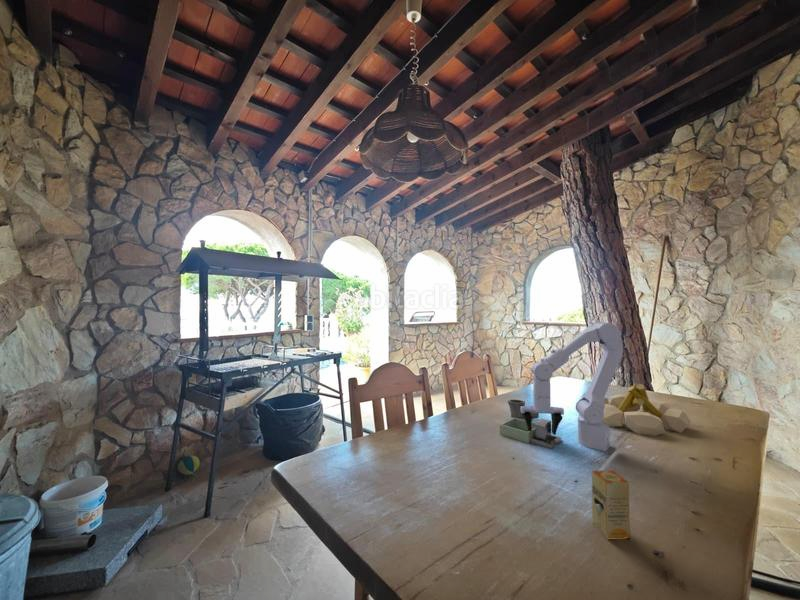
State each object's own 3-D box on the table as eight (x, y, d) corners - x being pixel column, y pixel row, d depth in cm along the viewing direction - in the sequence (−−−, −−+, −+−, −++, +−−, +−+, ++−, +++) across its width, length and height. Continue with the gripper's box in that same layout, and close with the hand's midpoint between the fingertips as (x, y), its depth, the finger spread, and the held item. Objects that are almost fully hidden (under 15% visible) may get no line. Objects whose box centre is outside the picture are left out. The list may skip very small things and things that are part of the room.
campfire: (640, 441, 120) (639, 395, 121) (569, 413, 153) (569, 376, 153) (709, 431, 130) (708, 388, 130) (628, 406, 162) (627, 371, 163)
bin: (541, 436, 124) (541, 424, 125) (528, 445, 117) (528, 432, 117) (513, 429, 132) (513, 417, 133) (499, 436, 125) (499, 424, 125)
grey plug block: (551, 440, 119) (551, 420, 119) (545, 444, 115) (545, 424, 116) (541, 437, 121) (541, 418, 122) (535, 441, 118) (535, 421, 118)
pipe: (540, 421, 141) (539, 402, 141) (510, 421, 141) (509, 402, 141) (534, 416, 147) (534, 398, 147) (505, 416, 147) (505, 398, 148)
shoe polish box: (613, 523, 75) (612, 470, 75) (629, 539, 70) (628, 482, 70) (592, 524, 75) (591, 471, 75) (607, 539, 70) (606, 482, 70)
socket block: (563, 443, 118) (563, 437, 118) (552, 452, 111) (552, 445, 111) (535, 435, 126) (535, 430, 126) (523, 443, 119) (523, 437, 119)
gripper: (558, 393, 122) (559, 429, 122) (518, 392, 124) (518, 428, 124) (566, 398, 115) (566, 437, 115) (523, 397, 117) (523, 435, 117)
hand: (541, 433), depth 119 cm, fingers open, 7 cm apart
